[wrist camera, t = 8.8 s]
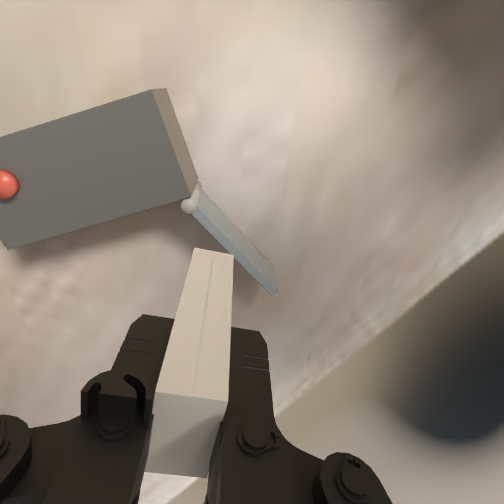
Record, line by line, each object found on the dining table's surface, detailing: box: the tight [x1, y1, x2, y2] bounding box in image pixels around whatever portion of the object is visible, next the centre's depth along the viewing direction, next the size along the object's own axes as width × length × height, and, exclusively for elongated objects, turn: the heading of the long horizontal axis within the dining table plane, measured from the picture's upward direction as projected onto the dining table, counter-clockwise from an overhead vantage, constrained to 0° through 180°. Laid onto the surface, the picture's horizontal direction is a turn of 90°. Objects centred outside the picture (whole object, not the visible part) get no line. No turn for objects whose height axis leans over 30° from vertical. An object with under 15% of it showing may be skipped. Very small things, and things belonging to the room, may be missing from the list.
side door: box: [181, 181, 278, 296], centre depth 32 cm, size 12×1×6 cm, turn 39°
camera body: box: [0, 88, 198, 250], centre depth 28 cm, size 17×8×7 cm, turn 106°
